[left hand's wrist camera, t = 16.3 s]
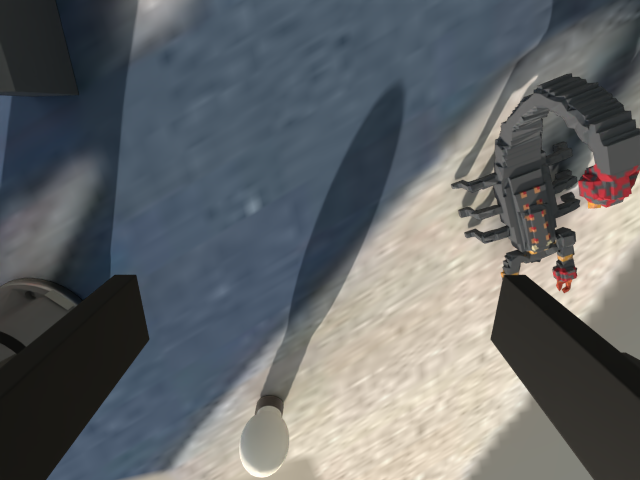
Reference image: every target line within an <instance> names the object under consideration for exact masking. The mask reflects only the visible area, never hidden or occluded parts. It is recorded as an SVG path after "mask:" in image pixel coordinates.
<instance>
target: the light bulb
mask: <svg viewBox="0 0 640 480" xmlns="http://www.w3.org/2000/svg"><path fill="white" fill-rule="evenodd" d="M282 414H283V402H282V400H281V399H279V398H278V397H275V396H265V397H262V398H260V399H259V400H258V402H257V406H256V411H255V416H253V417H252V418H251V419H250V420H249V421H248V423H247V424H246V426H245V428H244V430H243V432H242V435H241V439H240V445H239V447H240V457H241V461H242V464H243V466H244V467H245V469H246V470H247V471H248V472H249V473H250V474H251V475H253V476H256V477H267V476H269V475H271V474H273V473H274V472H276V471H277V470H278V469H279V468H280V466H281V465H282V463H283V462H284V460H285V458H286V455H287V452H288V448H289V432H288V428H287V425H286V423H285V421H284V420H283V418H282Z"/></svg>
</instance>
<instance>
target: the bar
mask: <svg viewBox="0 0 640 480" xmlns="http://www.w3.org/2000/svg"><path fill="white" fill-rule="evenodd" d="M0 95H7V96H31V97H34V96H65V95H79V93H78V89H77V85H76V81H75V77H74V73H73V69H72V65H71V61H70V57H69V53H68V49H67V45H66V41H65V37H64V33H63V29H62V25H61V21H60V17H59V13H58V9H57V5H56V1H55V0H0Z"/></svg>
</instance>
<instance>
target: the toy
mask: <svg viewBox="0 0 640 480" xmlns="http://www.w3.org/2000/svg"><path fill="white" fill-rule="evenodd" d="M537 88H538V89H535V90H534V94H531V95H529V96H527V97H524V98H523V99H522V101H520V102H521V103H520V104H518V107H515V110H513V111H512V112H513V113H512V114H511V115H510V117H508V119H507V121H506V122H503V123H501V124H502V125H501V130H502V131H500V132H501V133H500V136H499V138H498V139H496V140H495V162H494V171H495V172H494V173H492V174H490V175H487V176H485V177H483V178H479V179H476V180H473V181H470V182H466V181H464V180H461V181H459V182H456V183H453V184H451V186H452V189H456V188H464V189H466V190H468V191H470V192H471V193H473V192H475V191H478V190H480V189H486V188H488V187H490V186H493V185H494V186H493V187H494V192H495V197H496V199H497V204H498V205H494V206H490V207H487V208H484V209H481V210H476V211H474V210H473V209H472V208H471V207H465V208H463V209H460V210H458V212H459V215H460V217H461V218H463V217H467V216H473V217H474V218H476V219H479V220H482V219H485V218H488V217H491V216H494V215H497V214H500V219H501V222H503V223H504V224H506V226H504V227H501V228H499V229H495V230H491V231H487V232H484V233H483V232H480V231H478V230H477V229H473V230H470V231H467V232H465V237H466V238H470V237H476V238H477V239H479V240H480V241H481V242H483V243H489V242H493V241H496V240H500V239H503V238H506V237H508V238H509V239H510V240H511V243H512V245H513V246H514V247H515V248H517V249H518V250H515V251H512V252H508V253H506V255H505V258H506V260H504V261H503V264H504V267H502V268H503V272H501V276H502V280H503V276H504V275H519V270H520V264H521V263H522V262H524V263H529V262H531V263H533V262H540V261H541V259H542V258H544V257H547V256H549V255H551V254H554V253H555V252H557V256H558V260H557V261H556V264H557V266H555V267H553V269H552V270H553V275H554V278H555V279H557V285H556V286H557V288H558V290H559V291H560V290H561V288H562V285H563V284H564V283H566V287H564V288H563V289H562V291H563V292H564V293H566V292H567V291H569V290H570V288H571V282H572V279H575V278H576V277H577V273H576V272H577V268H576V267H575V265H574V260H573V256H572V255H574V248H573V245H574V244H575V242H576V235H575V232H574V231H571V229H568V228H564V227H562V228H559V229H557V230H555V228H556V227H557V226H556V219H555V218H558V217H560V216H563V215H565V214H567V213H569V212H571V211H574V210H576V209H577V208H578V207H580V205H579V203H580V200H578V199H575V196H574V194H573V193H572V192H569V193H567V194H564V195H562V196H561V200H562V201H563V202H565V203H562V204H560V205H557V203H556V198H555V194H557V193H560V192H561V191H563V190H564V189H567V188H569V187H572V186H573V185H574V184H575V183H576V182H577V177H576V176H572V171H570V170H565V171H563V172H560V173H557V174H555V176H556V179H559V180H556V181H554V182H552V180H551V176H550V171H549V166H550V165H552V164H555V163H557V162H560V161H562V160H565V159H567V158H569V157H572V156H573V155H572V149H571V148H567V143H566V142H561V143H558V144H556V145H553V148H554V150H553V151H554V153H553V154H550V155H548V156H546V155H545V152H544V151H542V150H541V145H542V127H543V124H542V123H543V119H542V118H544V117H547V114H548V113H549V112H548V111H552V112H555V113H556V114H557V116H561V117H562V118H563V119H564V121H565V123H566V125H567V127H568V128H573V129H575V131H576V133H577V135H578V137H579V138H580V139H581V140H582V142H585V144H588V146H589V149H590V150H591V151H592V152H593V155H594V160H595V165H594V166H592V167H589V168H586V169H587V170H585V174H584V175H583V176H582V177H581V178H580V180H579V181H578V183H579V194H580V196H582V197H584V198H585V199H586V200H587V201H588V208H601V205H602V206H604V207H606V208H607V207H609V206H612V205H615V204H618V203H621V202H623V199H624V198H625V197H628V196H629V194H632V193H631V188H632V187H633V186H634V184H635V181H636V178H637V176H638V173H639V171H640V128H636V121H635V120H632V117H631V111H625V110H624V105H623V104H621V103H620V102H618V100H617V99H616V98H612V94H610V93H608V92H607V91H606V90H605V89H604V88H603V87H602V86H601V87H599V86H598V83H587V82H586V79H581V78H580V77H572V73H571V74H566V75H563V76H561V77H558V78H556V79H553V80H551V81H548V82H546V83H543V84H541V85H539V86H537Z"/></svg>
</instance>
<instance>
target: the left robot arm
mask: <svg viewBox="0 0 640 480" xmlns="http://www.w3.org/2000/svg"><path fill="white" fill-rule="evenodd" d="M148 341H149V335H148V330H147V325H146V320H145V315H144V310H143V306H142V301H141V296H140V291H139V286H138V281H137V276H136V275H114V276H113V277H112V278H110V279H109V280H108V281H107V282H105V283H104V284H103V285H102V286H100V287H99V288H98V289H97V290H96V291H94V292H93V293H92V294H91V295H89V296H88V297H87V298H86V299H84V300H83V301H82V300H81V299H80V298H79V297H78V296H77V295H75V294H74V293H73V292H71V291H70V290H68V289H66V288H64V287H62V286H60V285H58V284H56V283H53V282H50V281H46V280H41V279H34V278H25V279H17V280H13V281H10V282H8V283H6V284H4V285H2V286H0V480H46V479H47V478H48V476H49V475H50V474H51V472H52V471H53V470H54V468H55V467H56V465H57V464H58V463H59V461H60V460H61V459H62V457H63V456H64V455H65V453H66V452H67V451H68V449H69V448H70V447H71V445H72V444H73V442H74V441H75V440H76V438H77V437H78V436H79V434H80V433H81V432H82V430H83V429H84V428H85V426H86V425H87V423H88V422H89V421H90V419H91V418H92V417H93V415H94V414H95V413H96V411H97V410H98V409H99V407H100V406H101V404H102V403H103V402H104V400H105V399H106V398H107V396H108V395H109V394H110V392H111V391H112V390H113V388H114V387H115V385H116V384H117V383H118V381H119V380H120V379H121V377H122V376H123V375H124V373H125V372H126V371H127V369H128V368H129V366H130V365H131V364H132V362H133V361H134V360H135V358H136V357H137V356H138V354H139V353H140V352H141V350H142V349H143V347H144V346H145V345H146V343H147V342H148ZM491 341H492V342H493V343H494V345H495V346H496V347H497V349H498V350H499V352H500V353H501V354H502V356H503V357H504V358H505V360H506V361H507V362H508V364H509V365H510V366H511V368H512V369H513V371H514V372H515V373H516V375H517V376H518V377H519V379H520V380H521V381H522V383H523V384H524V385H525V387H526V388H527V390H528V391H529V392H530V394H531V395H532V396H533V398H534V399H535V400H536V402H537V403H538V404H539V406H540V407H541V409H542V410H543V411H544V413H545V414H546V415H547V417H548V418H549V419H550V421H551V422H552V423H553V425H554V426H555V428H556V429H557V430H558V432H559V433H560V434H561V436H562V437H563V438H564V440H565V441H566V442H567V444H568V445H569V446H570V448H571V449H572V451H573V452H574V453H575V455H576V456H577V457H578V459H579V460H580V461H581V463H582V464H583V465H584V467H585V468H586V470H587V471H588V472H589V474H590V475H591V476H592V478H593V479H594V480H640V360H639V359H637V358H635V357H633V356H631V355H629V354H627V353H621V352H619V351H618V350H617V349H616V348H615V347H613V346H612V345H611V344H610V343H608V342H607V341H606V340H605V339H604V338H602V337H601V336H600V335H599V334H597V333H596V332H595V331H594V330H592V329H591V328H590V327H589V326H588V325H586V324H585V323H584V322H583V321H581V320H580V319H579V318H578V317H576V316H575V315H574V314H573V313H572V312H570V311H569V310H568V309H567V308H565V307H564V306H563V305H562V304H560V303H559V302H558V301H557V300H556V299H554V298H553V297H552V296H551V295H549V294H548V293H547V292H546V291H544V290H543V289H542V288H541V287H540V286H538V285H537V284H536V283H535V282H533V281H532V280H531V279H530V278H528V277H527V276H526V275H504V276H503V281H502V286H501V291H500V296H499V301H498V306H497V310H496V315H495V320H494V325H493V330H492V335H491Z"/></svg>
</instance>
